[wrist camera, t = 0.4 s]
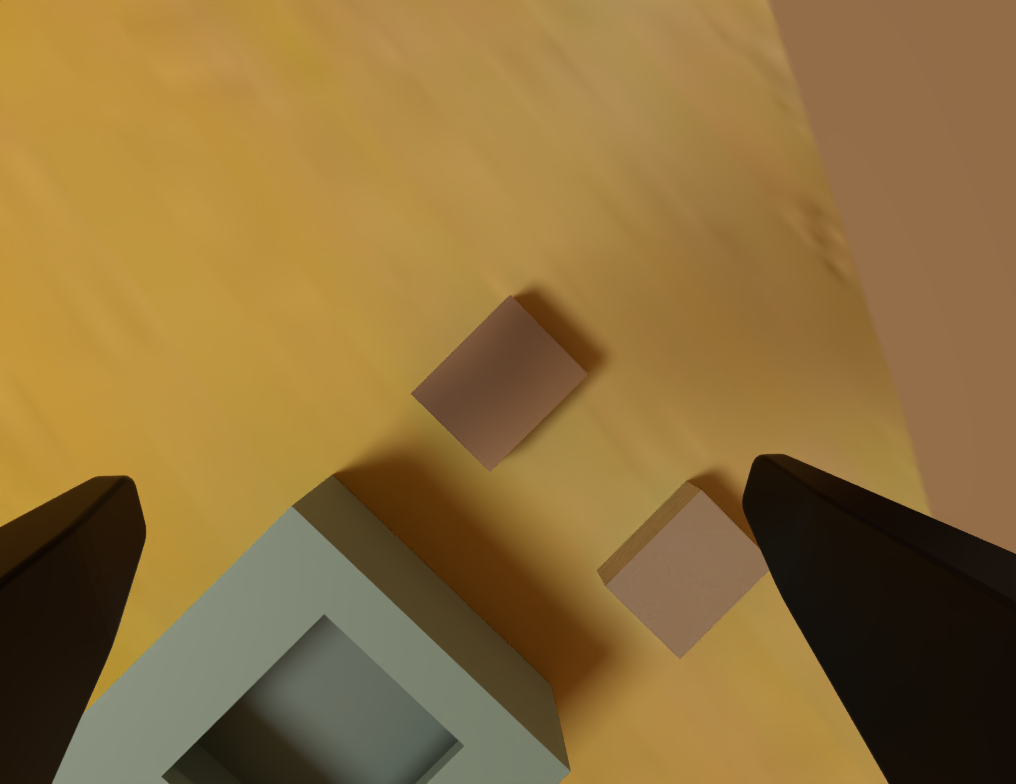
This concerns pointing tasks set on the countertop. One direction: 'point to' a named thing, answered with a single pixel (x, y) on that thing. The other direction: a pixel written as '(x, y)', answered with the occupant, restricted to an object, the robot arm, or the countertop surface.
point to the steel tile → (684, 569)
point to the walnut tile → (499, 383)
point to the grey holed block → (324, 675)
